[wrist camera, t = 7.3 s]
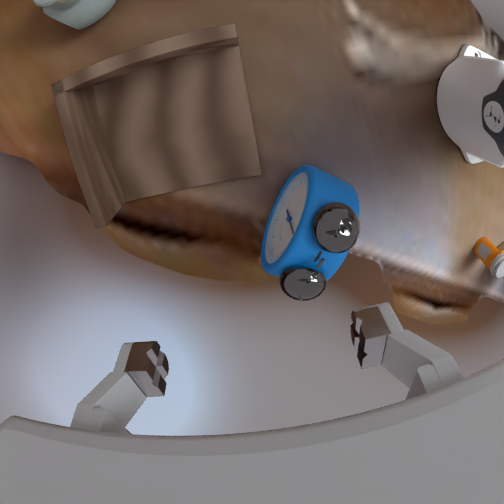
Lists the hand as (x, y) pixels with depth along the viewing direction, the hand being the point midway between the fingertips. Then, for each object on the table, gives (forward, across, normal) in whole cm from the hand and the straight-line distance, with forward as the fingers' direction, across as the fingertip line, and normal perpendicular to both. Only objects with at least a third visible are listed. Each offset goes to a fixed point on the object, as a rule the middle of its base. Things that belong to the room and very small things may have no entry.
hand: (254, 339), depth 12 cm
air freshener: (+30, +15, -27) cm, 43 cm away
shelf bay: (+30, +8, -6) cm, 31 cm away
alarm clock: (+30, -6, +8) cm, 31 cm away
